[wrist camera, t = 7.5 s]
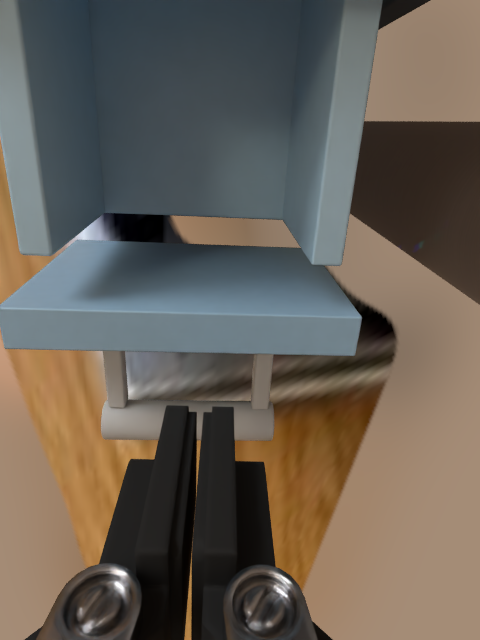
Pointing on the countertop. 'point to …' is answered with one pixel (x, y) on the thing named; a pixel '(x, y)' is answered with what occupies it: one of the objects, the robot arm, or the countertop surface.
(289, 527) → the countertop surface
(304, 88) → the drawer
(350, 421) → the countertop surface
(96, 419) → the countertop surface
